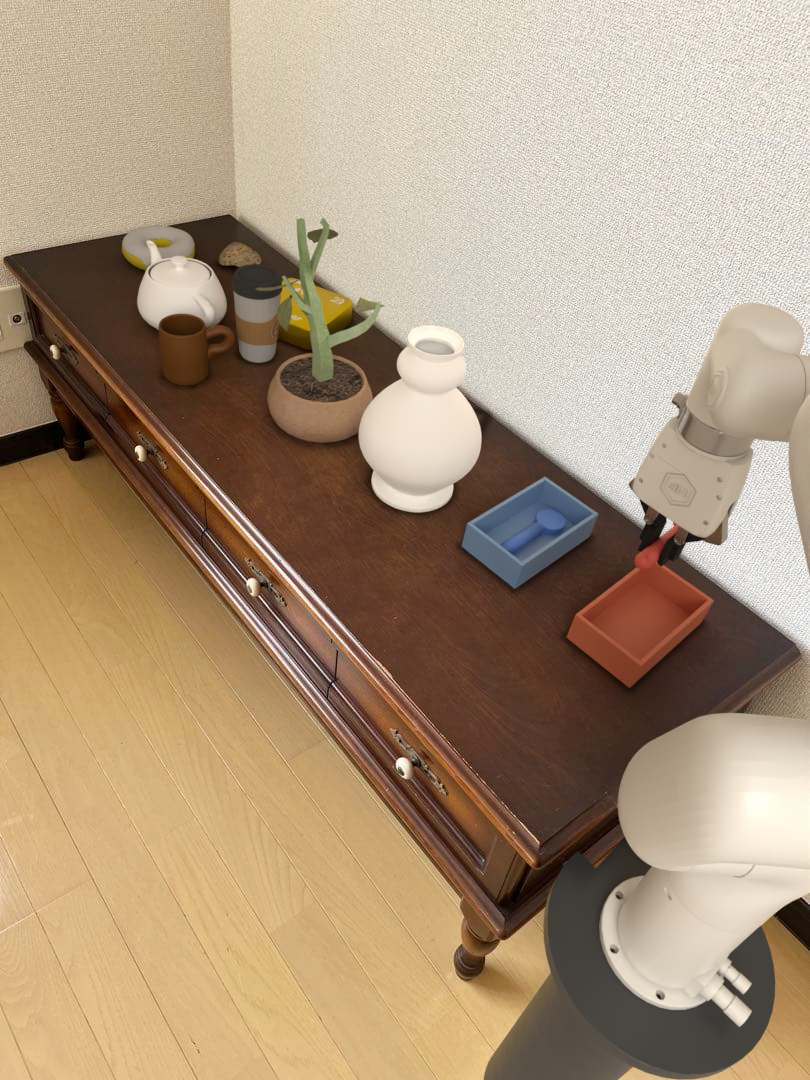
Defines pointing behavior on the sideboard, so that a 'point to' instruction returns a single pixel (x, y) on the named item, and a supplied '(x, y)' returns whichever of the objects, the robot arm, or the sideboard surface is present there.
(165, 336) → the mug
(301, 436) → the potted plant
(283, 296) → the element tile
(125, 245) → the donut
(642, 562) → the red spoon
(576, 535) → the blue bin
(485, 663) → the sideboard surface
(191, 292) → the teapot
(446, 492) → the decorative vase
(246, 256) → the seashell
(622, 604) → the red bin
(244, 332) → the coffee cup
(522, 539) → the blue spoon
